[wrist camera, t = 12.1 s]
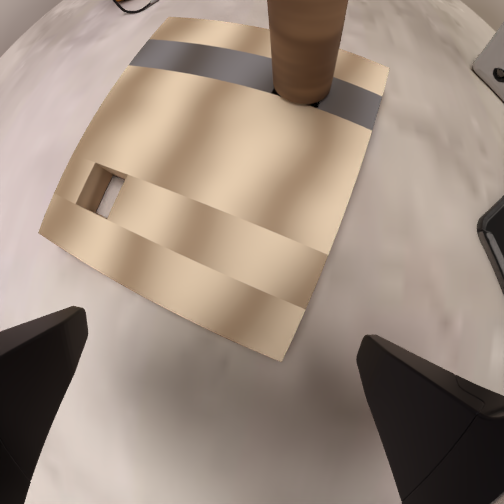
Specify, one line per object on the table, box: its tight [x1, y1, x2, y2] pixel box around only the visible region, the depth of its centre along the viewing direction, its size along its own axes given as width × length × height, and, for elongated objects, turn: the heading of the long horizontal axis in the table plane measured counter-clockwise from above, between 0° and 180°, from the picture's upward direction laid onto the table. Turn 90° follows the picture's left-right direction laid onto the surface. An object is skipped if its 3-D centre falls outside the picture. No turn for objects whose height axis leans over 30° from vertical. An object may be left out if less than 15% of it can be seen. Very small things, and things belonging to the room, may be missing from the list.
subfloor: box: [38, 17, 390, 362], centre depth 18 cm, size 18×20×2 cm
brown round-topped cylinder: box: [267, 0, 348, 107], centre depth 12 cm, size 4×4×14 cm
